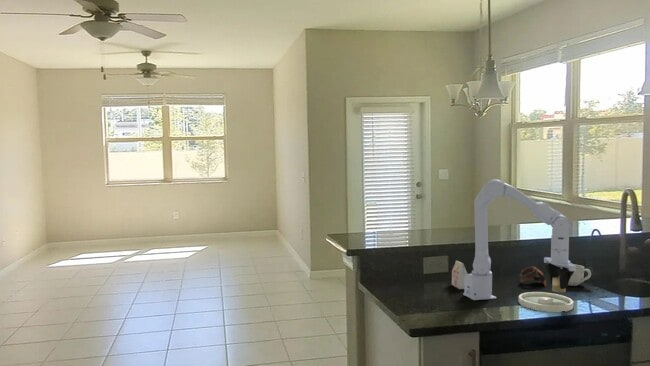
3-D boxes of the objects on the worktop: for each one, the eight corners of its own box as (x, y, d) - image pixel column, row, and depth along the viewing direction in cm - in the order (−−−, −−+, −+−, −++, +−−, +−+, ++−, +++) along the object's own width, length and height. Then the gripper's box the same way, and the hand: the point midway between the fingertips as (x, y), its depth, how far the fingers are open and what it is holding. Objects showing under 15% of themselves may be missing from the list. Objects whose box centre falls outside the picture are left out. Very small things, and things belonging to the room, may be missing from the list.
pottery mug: (547, 290, 207) (537, 272, 207) (525, 296, 212) (514, 279, 212) (550, 276, 217) (540, 259, 217) (529, 283, 222) (519, 266, 222)
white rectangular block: (460, 284, 213) (460, 260, 213) (467, 288, 207) (467, 263, 206) (451, 284, 213) (451, 260, 212) (458, 289, 206) (459, 264, 206)
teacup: (549, 282, 216) (549, 263, 216) (567, 280, 221) (568, 261, 220) (578, 290, 204) (578, 270, 203) (597, 287, 208) (597, 267, 208)
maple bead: (557, 292, 184) (558, 280, 183) (549, 289, 188) (549, 277, 188) (568, 292, 185) (568, 279, 184) (560, 288, 189) (560, 276, 189)
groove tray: (539, 313, 175) (539, 307, 175) (509, 299, 192) (509, 293, 192) (584, 309, 179) (584, 304, 179) (550, 296, 196) (551, 290, 196)
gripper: (584, 252, 179) (583, 291, 180) (556, 245, 193) (555, 281, 194) (566, 253, 178) (565, 292, 178) (539, 245, 192) (538, 282, 193)
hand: (558, 286), depth 186 cm, fingers closed on maple bead, 4 cm apart
